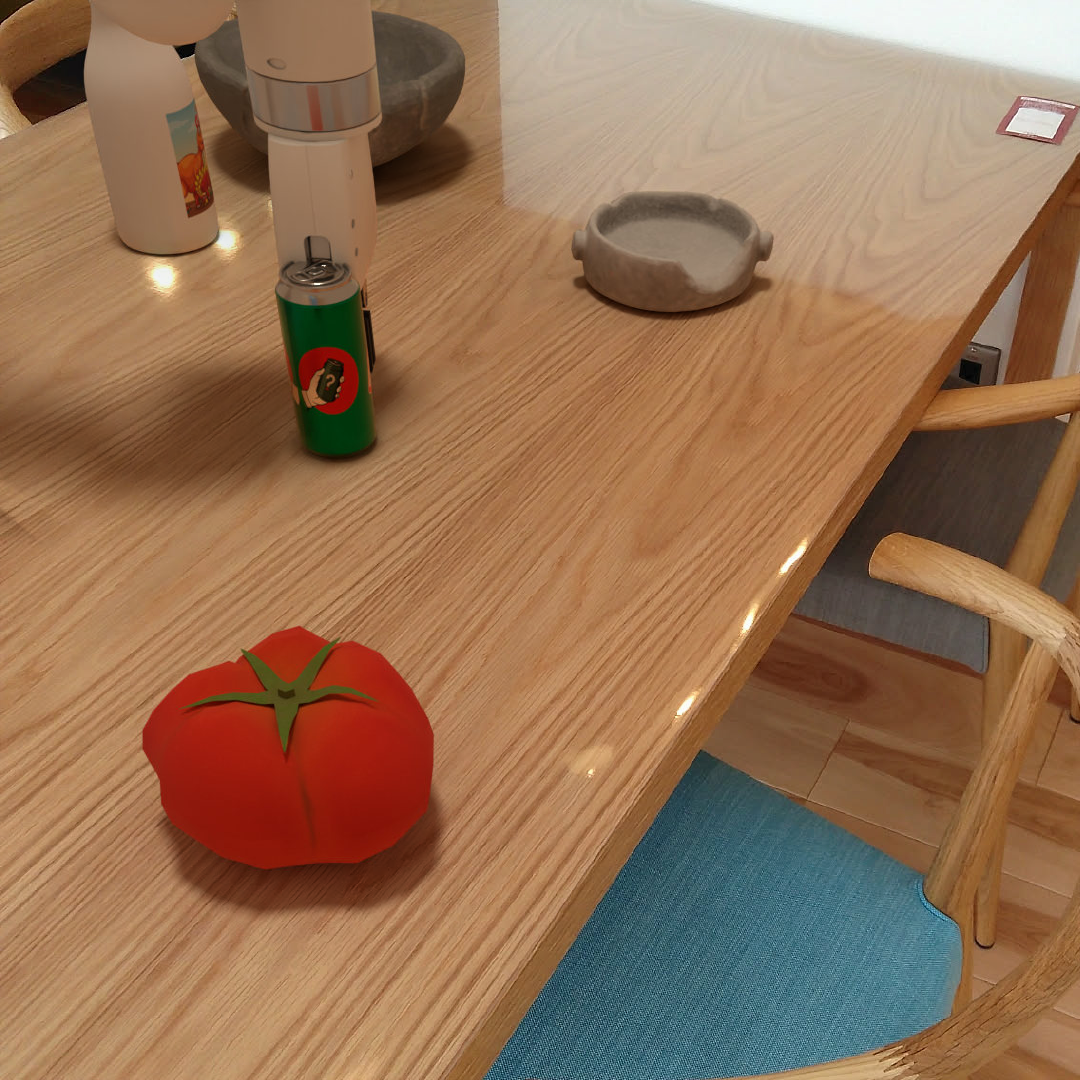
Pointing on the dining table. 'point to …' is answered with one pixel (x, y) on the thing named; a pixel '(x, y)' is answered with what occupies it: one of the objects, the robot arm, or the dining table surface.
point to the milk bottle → (148, 141)
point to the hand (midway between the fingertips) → (351, 367)
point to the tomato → (293, 753)
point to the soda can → (326, 356)
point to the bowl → (403, 75)
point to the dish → (670, 250)
